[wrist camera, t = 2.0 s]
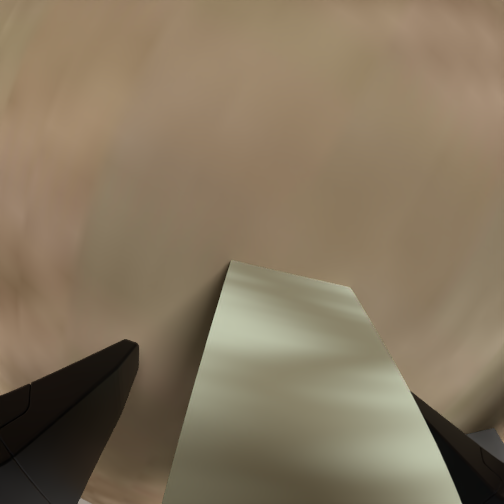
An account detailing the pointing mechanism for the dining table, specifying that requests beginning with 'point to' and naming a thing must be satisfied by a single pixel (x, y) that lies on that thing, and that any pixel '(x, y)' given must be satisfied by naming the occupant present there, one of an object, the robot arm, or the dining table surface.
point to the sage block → (301, 405)
